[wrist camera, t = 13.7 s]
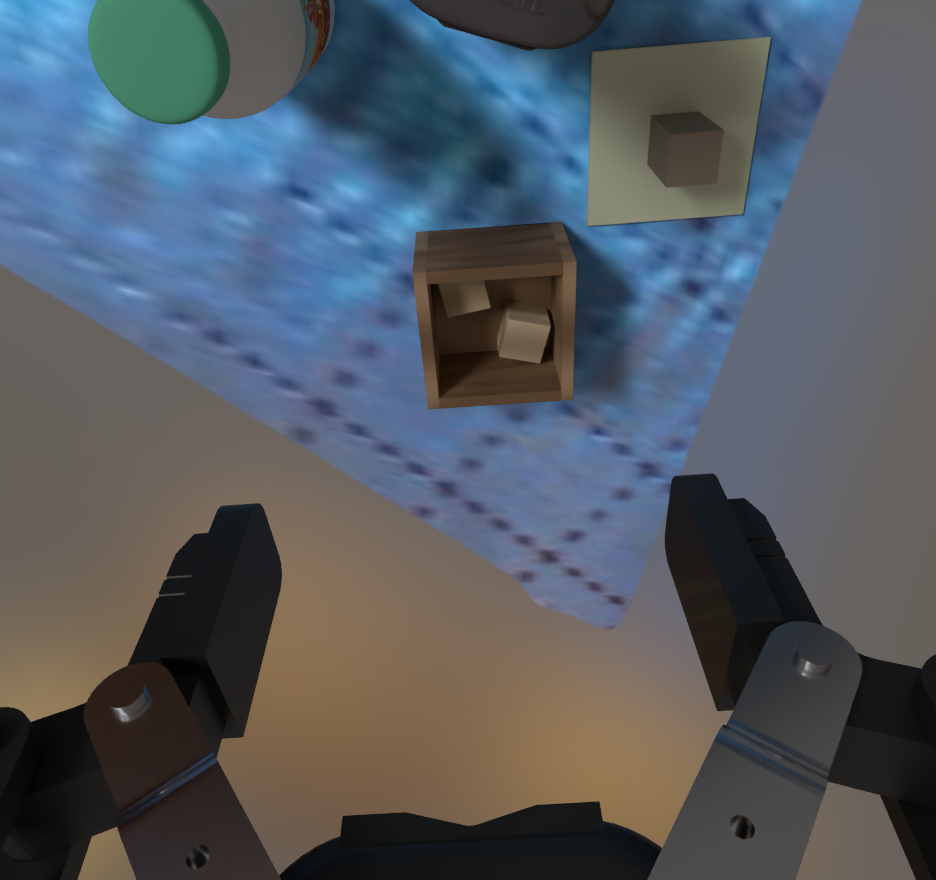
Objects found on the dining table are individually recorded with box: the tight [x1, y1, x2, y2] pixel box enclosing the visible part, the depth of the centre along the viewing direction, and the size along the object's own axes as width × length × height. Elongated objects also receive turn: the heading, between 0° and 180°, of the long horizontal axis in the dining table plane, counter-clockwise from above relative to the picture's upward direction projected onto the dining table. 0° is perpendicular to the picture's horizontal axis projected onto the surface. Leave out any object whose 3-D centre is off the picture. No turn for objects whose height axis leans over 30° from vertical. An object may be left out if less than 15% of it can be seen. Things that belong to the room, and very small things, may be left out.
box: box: [413, 222, 577, 409], centre depth 49 cm, size 10×10×7 cm
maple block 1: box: [438, 280, 491, 318], centre depth 49 cm, size 3×3×3 cm
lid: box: [587, 37, 771, 226], centre depth 44 cm, size 11×11×6 cm
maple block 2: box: [497, 300, 551, 364], centre depth 51 cm, size 3×3×3 cm
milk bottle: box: [88, 0, 335, 124], centre depth 33 cm, size 8×8×20 cm
